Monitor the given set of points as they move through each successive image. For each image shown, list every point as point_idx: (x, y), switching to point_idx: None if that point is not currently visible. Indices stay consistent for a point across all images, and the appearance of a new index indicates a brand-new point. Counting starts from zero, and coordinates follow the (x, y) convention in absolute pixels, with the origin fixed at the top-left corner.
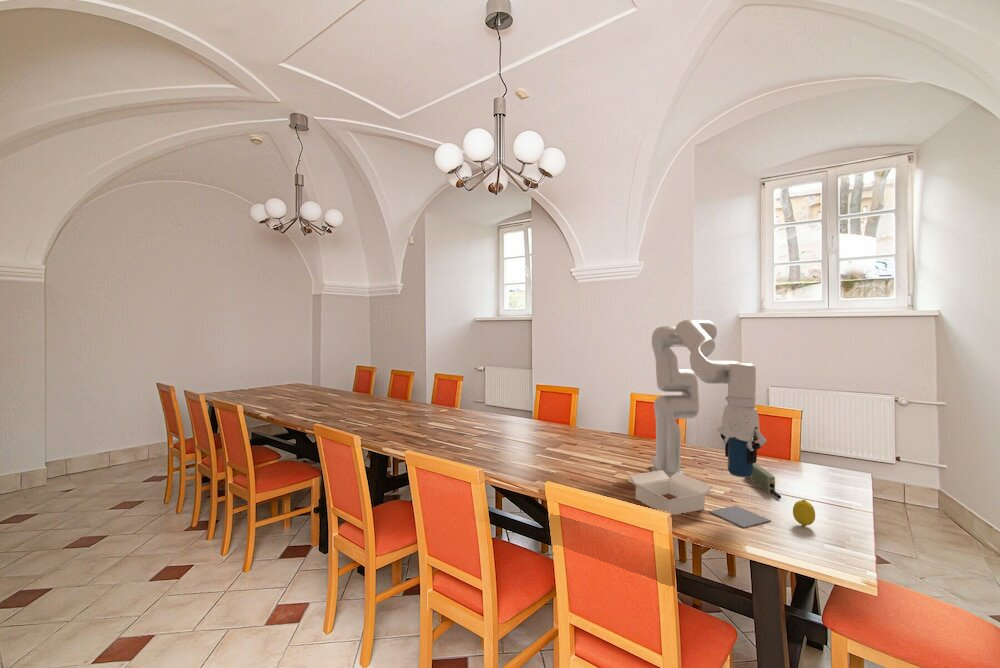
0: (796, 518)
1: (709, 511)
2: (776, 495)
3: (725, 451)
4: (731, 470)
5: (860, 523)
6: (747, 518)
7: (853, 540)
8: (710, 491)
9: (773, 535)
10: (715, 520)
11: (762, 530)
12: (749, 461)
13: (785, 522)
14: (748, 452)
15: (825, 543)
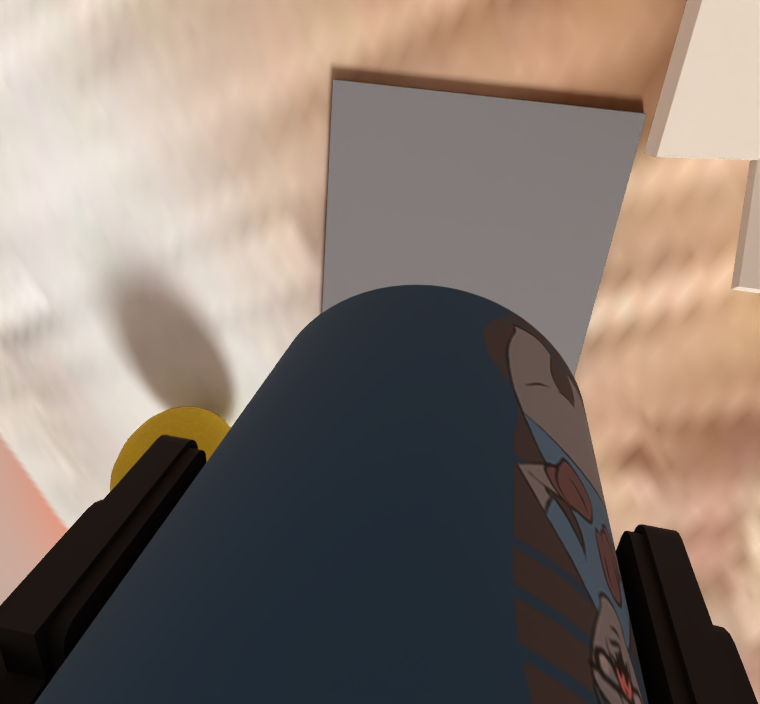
0: (200, 412)
1: (645, 114)
2: None
3: (702, 606)
4: (456, 292)
5: None
6: (404, 248)
7: (46, 447)
8: (670, 101)
9: (192, 160)
10: (527, 3)
11: (263, 170)
12: (149, 460)
13: None
14: (47, 586)
15: (49, 312)
